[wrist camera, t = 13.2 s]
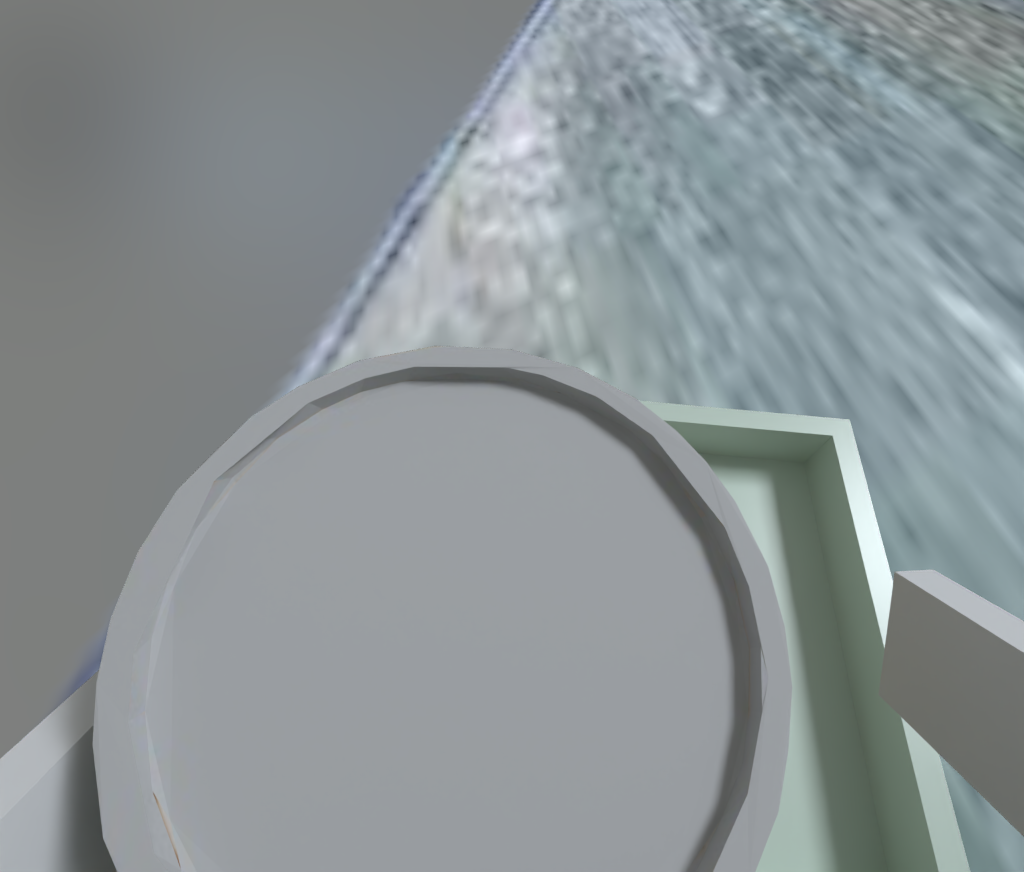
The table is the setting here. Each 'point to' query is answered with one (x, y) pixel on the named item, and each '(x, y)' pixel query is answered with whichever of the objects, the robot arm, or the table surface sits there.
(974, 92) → the table surface
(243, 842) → the disposable coffee cup
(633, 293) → the table surface
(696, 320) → the table surface
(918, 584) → the robot arm
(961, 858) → the sage tray
